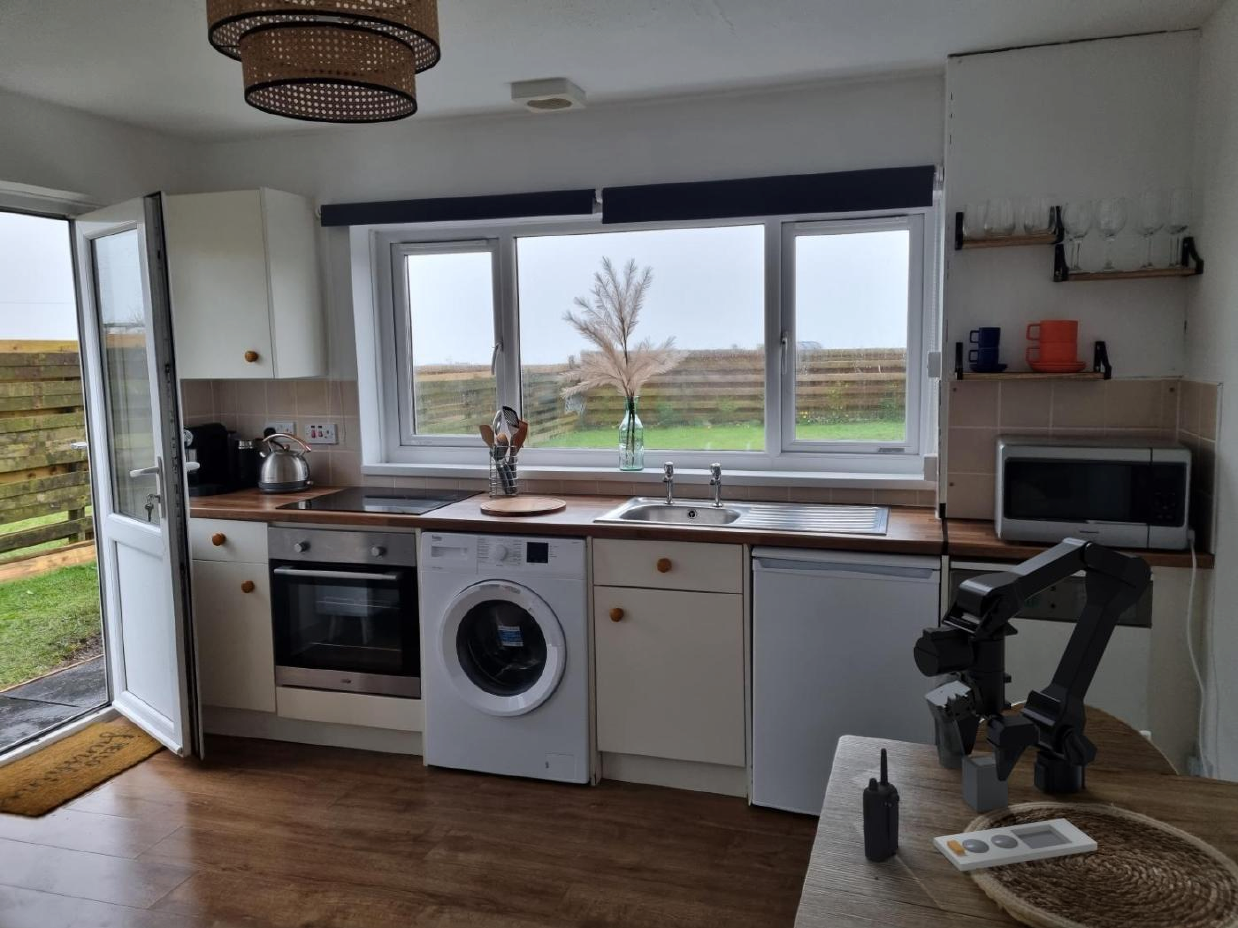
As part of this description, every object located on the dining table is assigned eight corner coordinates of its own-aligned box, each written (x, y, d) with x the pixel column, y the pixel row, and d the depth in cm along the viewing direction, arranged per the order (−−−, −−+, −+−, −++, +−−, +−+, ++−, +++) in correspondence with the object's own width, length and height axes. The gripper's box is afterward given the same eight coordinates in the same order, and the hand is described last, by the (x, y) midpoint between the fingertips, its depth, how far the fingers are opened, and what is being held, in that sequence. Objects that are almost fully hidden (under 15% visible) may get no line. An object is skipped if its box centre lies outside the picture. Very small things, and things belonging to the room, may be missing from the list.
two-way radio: (885, 843, 132) (883, 741, 130) (911, 856, 128) (909, 752, 126) (858, 856, 129) (856, 752, 127) (884, 870, 125) (882, 763, 123)
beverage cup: (979, 772, 152) (979, 653, 149) (932, 770, 153) (931, 652, 151) (972, 753, 159) (971, 639, 157) (927, 751, 160) (926, 639, 158)
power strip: (1063, 831, 133) (1063, 814, 132) (1097, 856, 126) (1097, 838, 125) (933, 851, 129) (933, 833, 129) (960, 878, 122) (960, 859, 122)
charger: (992, 797, 142) (992, 753, 141) (1007, 810, 138) (1007, 764, 137) (962, 802, 141) (962, 757, 140) (976, 814, 137) (976, 768, 136)
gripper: (902, 652, 145) (903, 748, 147) (968, 693, 127) (968, 803, 128) (968, 645, 147) (969, 740, 149) (1042, 685, 129) (1041, 792, 130)
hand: (984, 767), depth 139 cm, fingers open, 9 cm apart
